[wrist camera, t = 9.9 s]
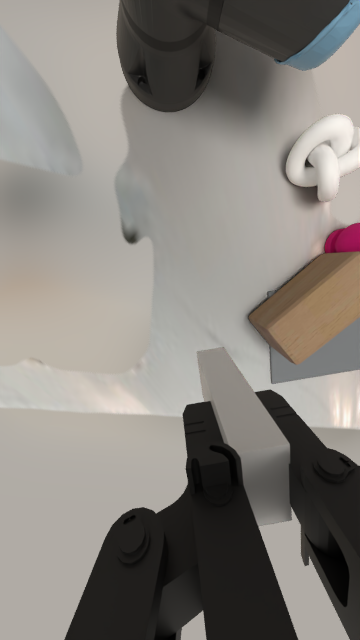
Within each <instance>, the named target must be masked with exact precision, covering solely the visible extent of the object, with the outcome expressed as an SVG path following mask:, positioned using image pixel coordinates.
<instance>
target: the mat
mask: <svg viewBox="0 0 360 640" xmlns="http://www.w3.org/2000/svg"><path fill="white" fill-rule="evenodd" d="M277 291H279V290H276V291H269V292H268V299H269V298H270V297H272V296H273V295H274V294H275V293H276V292H277ZM270 365H271V383H272V384H276V383H282V382H287V381H293V380H299V379H305V378H311V377H317V376H323V375H329V374H335V373H341V372H347V371H353V370H359V369H360V317H359V318H358V319H357V320H355V321H354V322H353V323H351V324H350V325H349V326H348V327H346V328H345V329H344V330H342V331H341V332H340V333H339V334H337V335H336V336H335V337H334V338H332V339H331V340H330V341H328V342H327V343H326V344H325V345H323V346H322V347H321V348H320V349H318V350H317V351H316V352H314V353H313V354H312V355H311V356H309V357H308V358H307V359H305V360H304V361H303V362H302V363H300V364H298V365H296V364H293V363H291V362H290V361H289V360H287V359H286V358H285V357H284V356H282V355H281V354H280V353H279V352H277V351H276V350H275V349H274V348H272V347H271V346H270Z"/></svg>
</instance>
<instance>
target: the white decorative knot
mask: <svg viewBox="0 0 360 640" xmlns="http://www.w3.org/2000/svg"><path fill="white" fill-rule="evenodd" d="M349 150H350V152H348V151H349ZM306 158H307V160H308V161H309V162H310V163H311V164H312V165H313V166H314V167H305V160H306ZM358 168H360V127H354V126H353V124H352V121H351V119H350V118H349V117H348V116H345V115H342V114H332V115H329V116H326V117H324V118H322V119H320V120H318V121H316V122H315V123H314V124H313V125H311V126H310V127H309V128H308V129H307V130H306V131H305V132H304V133H303V134H302V135H301V136H300V137H299V139H298V140H297V141H296V143H295V145H294V146H293V148H292V149H291V151H290V154H289V156H288V159H287V163H286V173H287V176H288V178H289V180H290V181H291V182H292V183H293V184H295V185H298V186H302V187H311V186H316V185H318V192H317V195H318V199H319V200H320V201H322V202H328V201H330V200H332V199H333V198H334V197H335V196H336V195H337V192H338V189H339V183H340V177H342V176H344V175H347V174H349V173H351V172H353V171H355V170H357V169H358Z"/></svg>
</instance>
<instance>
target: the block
mask: <svg viewBox="0 0 360 640" xmlns="http://www.w3.org/2000/svg"><path fill="white" fill-rule="evenodd" d="M359 317H360V252H359V251H358V252H340V253H324V254H322V255H320V256H319V257H318V258H316V259H315V260H314V261H313V262H312V263H310V264H309V265H308V266H307V267H306V268H305V269H303V270H302V271H301V272H300V273H299V274H298V275H296V276H295V277H294V278H293V279H292V280H290V281H289V282H288V283H287V284H286V285H285V286H283V287H282V288H281V289H280V290H279V291H277V292H276V293H275V294H274V295H273V296H272V297H270V298H269V299H268V300H267V301H266V302H264V303H263V304H262V305H261V306H260V307H259V308H257V309H256V310H255V311H254V312H253V313H251V314H250V316H249V320H250V322H251V323H252V324H253V325H254V327H255V328H256V329H257V330H258V331H259V333H260V334H261V335H262V336H263V337H264V339H265V340H266V341H267V342H268V343H269V345H270V346H271V347H272V348H274V349H275V350H276V351H277V352H279V353H280V354H281V355H282V356H284V357H285V358H286V359H287V360H289V361H290V362H291V363H293V364H296V365H298V364H300V363H302V362H303V361H304V360H305V359H307V358H308V357H309V356H311V355H312V354H313V353H314V352H316V351H317V350H318V349H320V348H321V347H322V346H323V345H325V344H326V343H327V342H328V341H330V340H331V339H332V338H334V337H335V336H336V335H337V334H339V333H340V332H341V331H342V330H344V329H345V328H346V327H348V326H349V325H350V324H351V323H353V322H354V321H355V320H357V319H358V318H359Z"/></svg>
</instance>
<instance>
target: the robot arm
mask: <svg viewBox="0 0 360 640" xmlns="http://www.w3.org/2000/svg"><path fill="white" fill-rule="evenodd" d="M359 24H360V0H120V3H119V11H118V20H117V48H118V53H119V58H120V63H121V67H122V71H123V74H124V76H125V79H126V81H127V83H128V85H129V86H130V88H131V90H132V91H133V92H134V94H135V95H136V96H137V97H138V98H139V99H140V100H141V101H142V102H144V103H145V104H146V105H148V106H150V107H152V108H154V109H156V110H160V111H165V112H173V111H178V110H181V109H184V108H186V107H188V106H189V105H191V104H192V103H193V102H195V101H196V100H197V99H198V98H199V96H200V95H201V94H202V92H203V91H204V89H205V87H206V85H207V83H208V81H209V78H210V75H211V71H212V66H213V62H214V57H215V46H216V38H215V29H216V30H218V31H220V32H222V33H224V34H226V35H228V36H230V37H232V38H234V39H236V40H238V41H240V42H242V43H244V44H246V45H248V46H250V47H252V48H254V49H256V50H258V51H260V52H262V53H264V54H267V55H269V56H271V57H273V58H274V61H275V62H276V63H278V64H284V65H285V64H287V65H289V66H292V67H294V68H297V69H299V70H302V71H306V70H309V69H313V68H316V67H318V66H319V65H321V64H322V63H324V62H325V61H326V60H327V59H328V58H330V57H331V56H332V55H333V54H334V53H335V52H336V51H337V50H338V49H339V48H340V47H341V46H342V44H343V43H344V42H345V41H346V40H347V39H348V38H349V36H350V35H351V34H352V33H353V32H354V30H355V29H356V28H357V26H358V25H359ZM197 358H198V365H199V372H200V379H201V386H202V393H203V398H204V401H205V402H201V403H195V404H189V405H187V406H186V408H185V410H184V412H183V421H184V429H185V438H186V448H187V457H188V458H187V462H186V473H187V478H188V485H187V488H186V489H185V491H184V493H183V494H182V495H181V497H180V498H179V499H178V500H177V501H176V502H174V503H173V504H172V505H170V506H168V507H167V508H165V509H163V510H161V511H160V512H158V513H157V514H156V513H155V512H154V511H152V510H150V509H147V508H144V507H142V508H135V509H132V510H130V511H128V512H126V513H125V514H123V515H122V516H121V517H120V518H119V519H118V520H117V521H116V522H115V523H114V524H113V525H112V527H111V529H110V531H109V532H108V534H107V536H106V538H105V540H104V542H103V545H102V547H101V550H100V552H99V555H98V557H97V560H96V562H95V565H94V567H93V570H92V572H91V575H90V577H89V580H88V582H87V585H86V587H85V590H84V592H83V595H82V597H81V600H80V602H79V605H78V607H77V610H76V612H75V615H74V617H73V620H72V622H71V625H70V627H69V630H68V632H67V635H66V637H65V640H181V630H182V627H183V626H184V625H185V624H187V623H188V622H189V621H190V620H191V619H193V618H194V617H195V616H197V615H198V614H199V613H200V612H201V611H202V610H203V612H204V621H205V630H206V639H207V640H298V638H297V635H296V632H295V630H294V627H293V624H292V621H291V618H290V615H289V612H288V610H287V607H286V604H285V601H284V598H283V595H282V593H281V590H280V587H279V584H278V581H277V579H276V576H275V573H274V570H273V567H272V564H271V561H270V559H269V556H268V553H267V550H266V547H265V544H264V542H263V539H262V536H261V533H260V530H259V528H258V526H263V525H268V524H274V523H279V522H284V521H290V520H292V517H291V507H292V509H293V511H294V512H295V515H296V516H297V518H298V520H299V522H300V524H301V556H302V559H303V562H304V565H305V566H307V565H309V556H310V559H311V561H312V562H313V565H314V567H315V569H316V571H317V573H318V575H319V577H320V579H321V581H322V583H323V585H324V587H325V589H326V591H327V593H328V595H329V597H330V600H331V602H332V604H333V606H334V608H335V610H336V612H337V614H338V616H339V618H340V620H341V622H342V624H343V626H344V628H345V630H346V632H347V635H348V636H349V639H350V640H360V466H358V465H357V464H355V463H354V462H353V461H352V460H351V459H349V458H348V457H347V456H345V455H344V454H342V453H340V452H337V451H336V450H333V449H329V448H327V447H326V446H325V445H324V444H323V443H322V442H321V441H320V440H319V438H318V437H317V436H316V435H315V434H314V433H313V432H312V430H311V429H310V428H309V427H308V426H307V425H306V423H305V422H304V421H303V420H302V419H301V418H300V417H299V415H297V414H296V412H295V411H294V410H293V408H292V407H290V405H289V404H288V403H287V402H286V400H285V399H284V398H283V397H282V396H281V395H279V394H277V393H276V392H274V391H272V390H265V391H259V392H254V391H253V389H252V388H251V386H250V385H249V384H248V382H247V381H246V379H245V378H244V376H243V375H242V373H241V372H240V370H239V369H238V367H237V366H236V365H235V363H234V362H233V360H232V359H231V357H230V356H229V354H228V353H227V351H226V350H225V348H224V347H222V348H216V349H210V350H204V351H198V352H197Z"/></svg>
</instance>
